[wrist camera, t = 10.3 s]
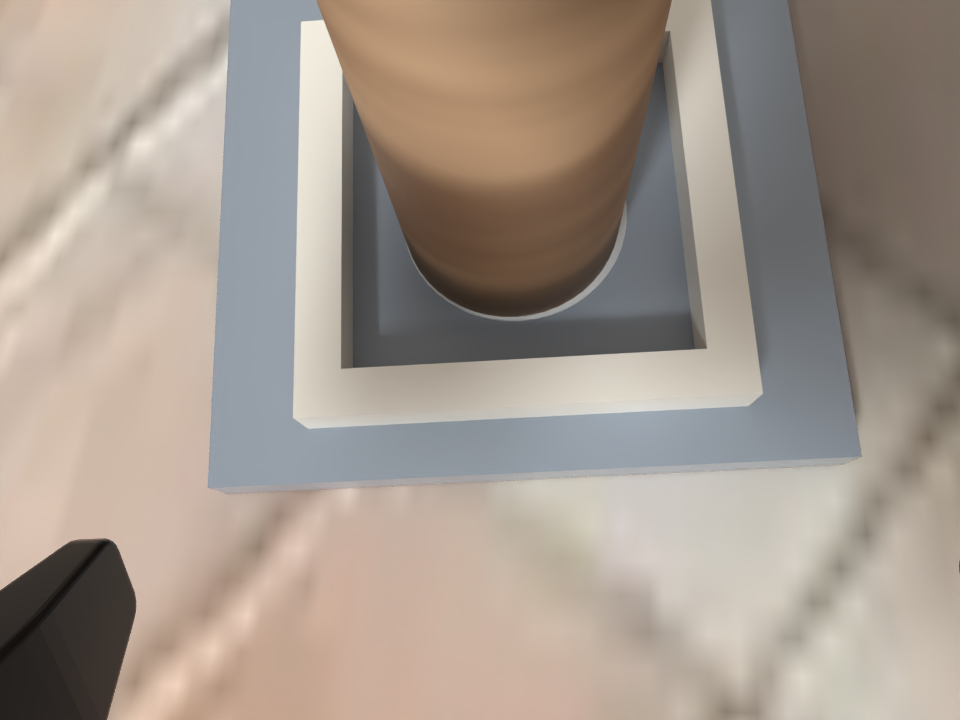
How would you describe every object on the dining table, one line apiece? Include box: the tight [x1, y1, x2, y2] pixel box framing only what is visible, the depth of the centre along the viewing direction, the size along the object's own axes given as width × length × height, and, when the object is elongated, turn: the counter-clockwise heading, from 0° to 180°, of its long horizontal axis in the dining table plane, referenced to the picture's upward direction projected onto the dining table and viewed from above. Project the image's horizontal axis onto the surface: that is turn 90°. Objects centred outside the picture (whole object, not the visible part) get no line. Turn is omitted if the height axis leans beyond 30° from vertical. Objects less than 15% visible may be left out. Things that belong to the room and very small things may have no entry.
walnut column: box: [316, 0, 672, 317], centre depth 13 cm, size 5×5×13 cm
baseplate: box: [208, 0, 862, 494], centre depth 20 cm, size 18×14×2 cm
